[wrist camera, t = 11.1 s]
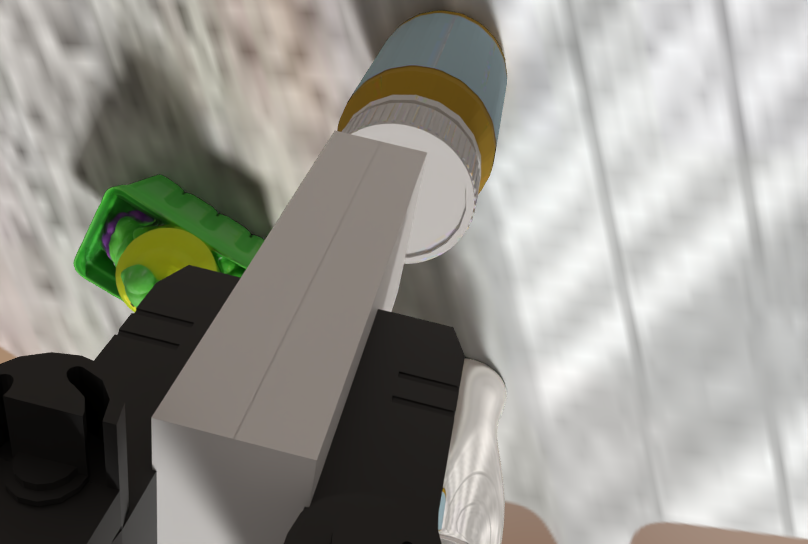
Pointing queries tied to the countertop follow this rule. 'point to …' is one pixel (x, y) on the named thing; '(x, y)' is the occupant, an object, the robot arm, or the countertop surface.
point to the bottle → (436, 117)
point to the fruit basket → (158, 239)
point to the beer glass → (474, 462)
